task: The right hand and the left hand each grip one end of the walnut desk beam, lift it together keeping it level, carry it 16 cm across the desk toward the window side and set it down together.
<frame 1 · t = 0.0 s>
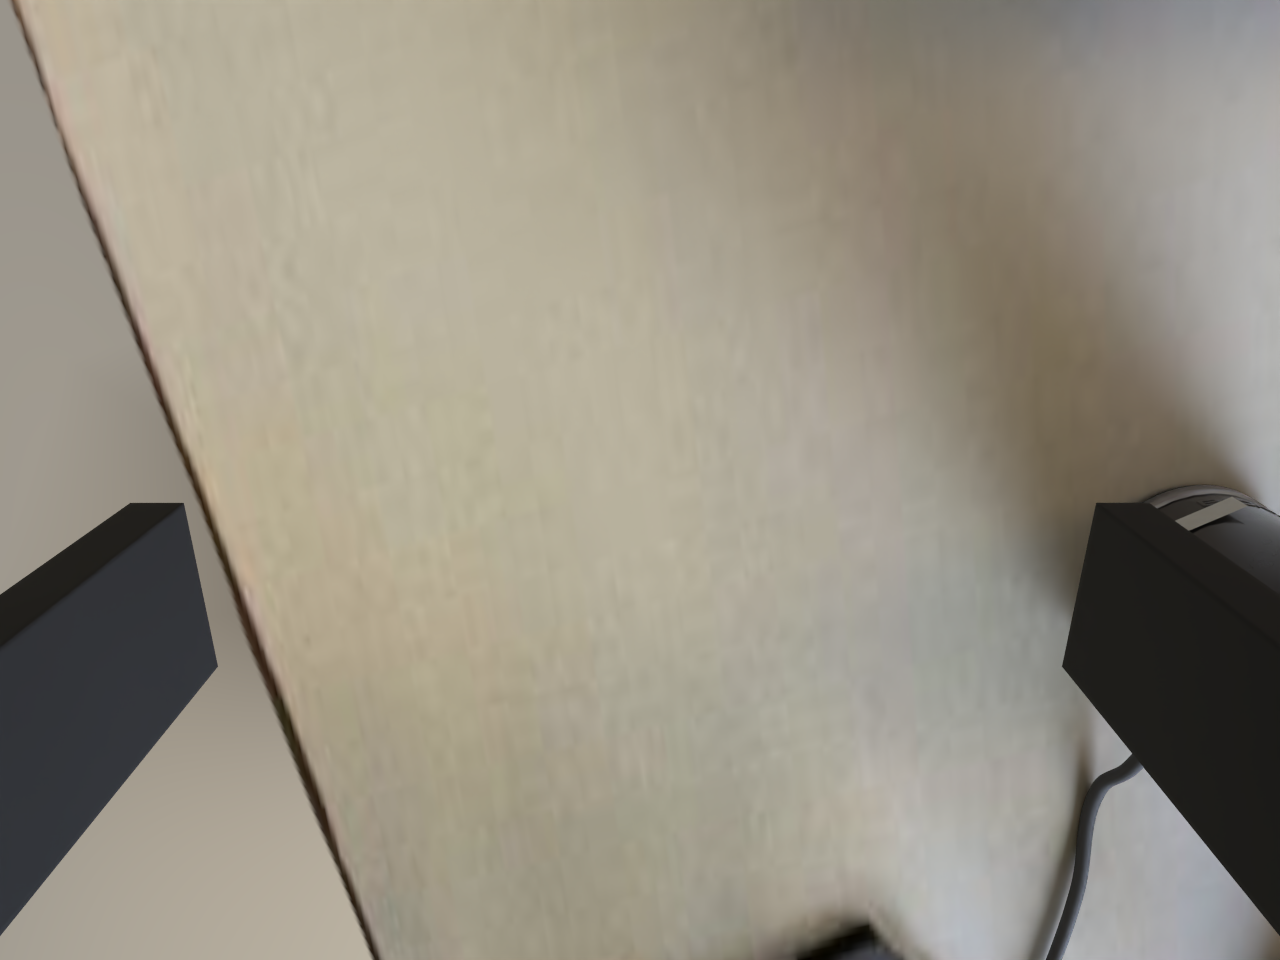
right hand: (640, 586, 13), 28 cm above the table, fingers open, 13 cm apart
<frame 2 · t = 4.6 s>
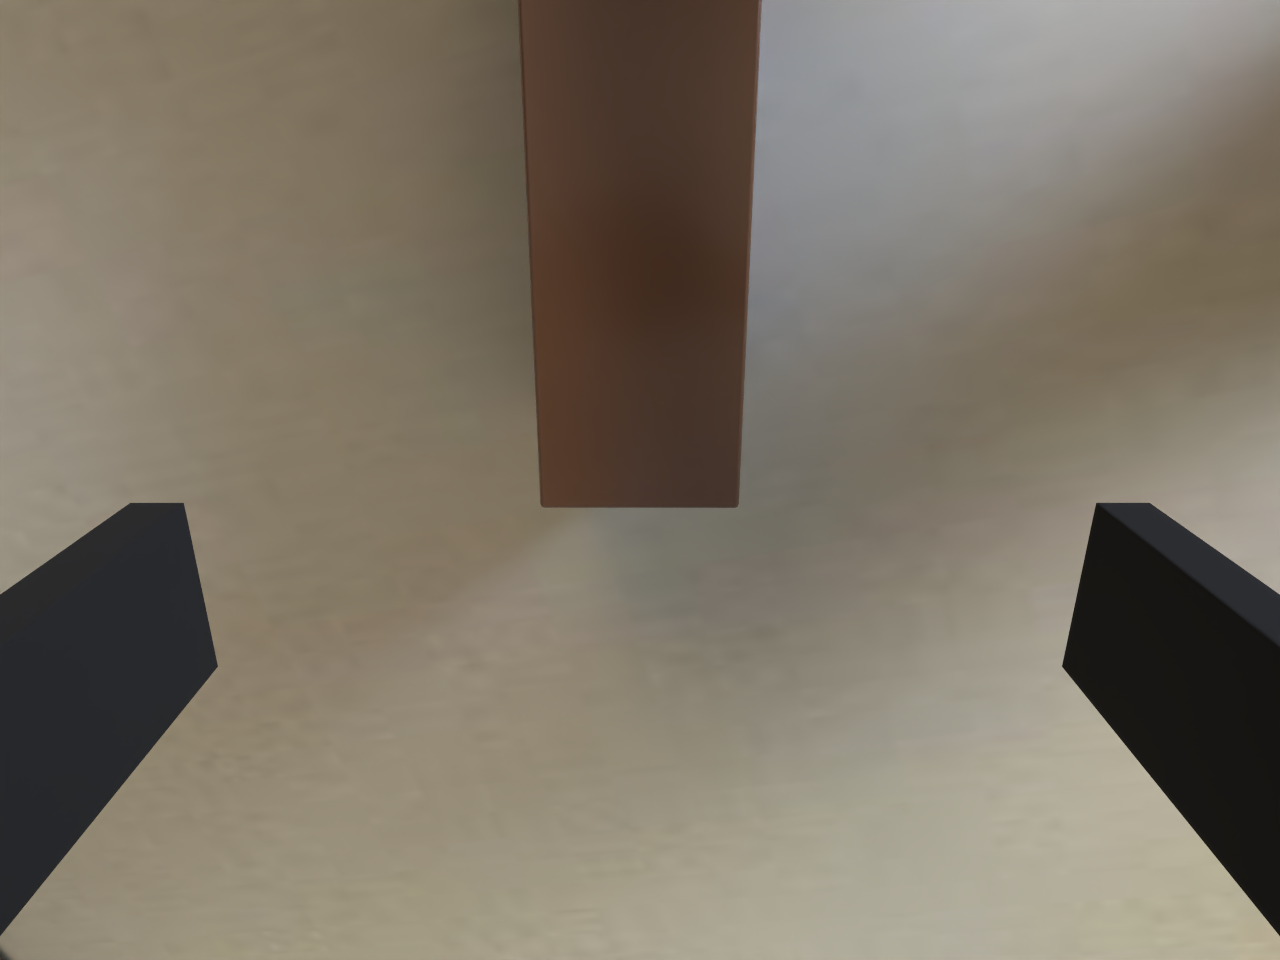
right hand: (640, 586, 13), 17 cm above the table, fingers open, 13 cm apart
walnut beam: (640, 15, 25), on the table, touching left hand
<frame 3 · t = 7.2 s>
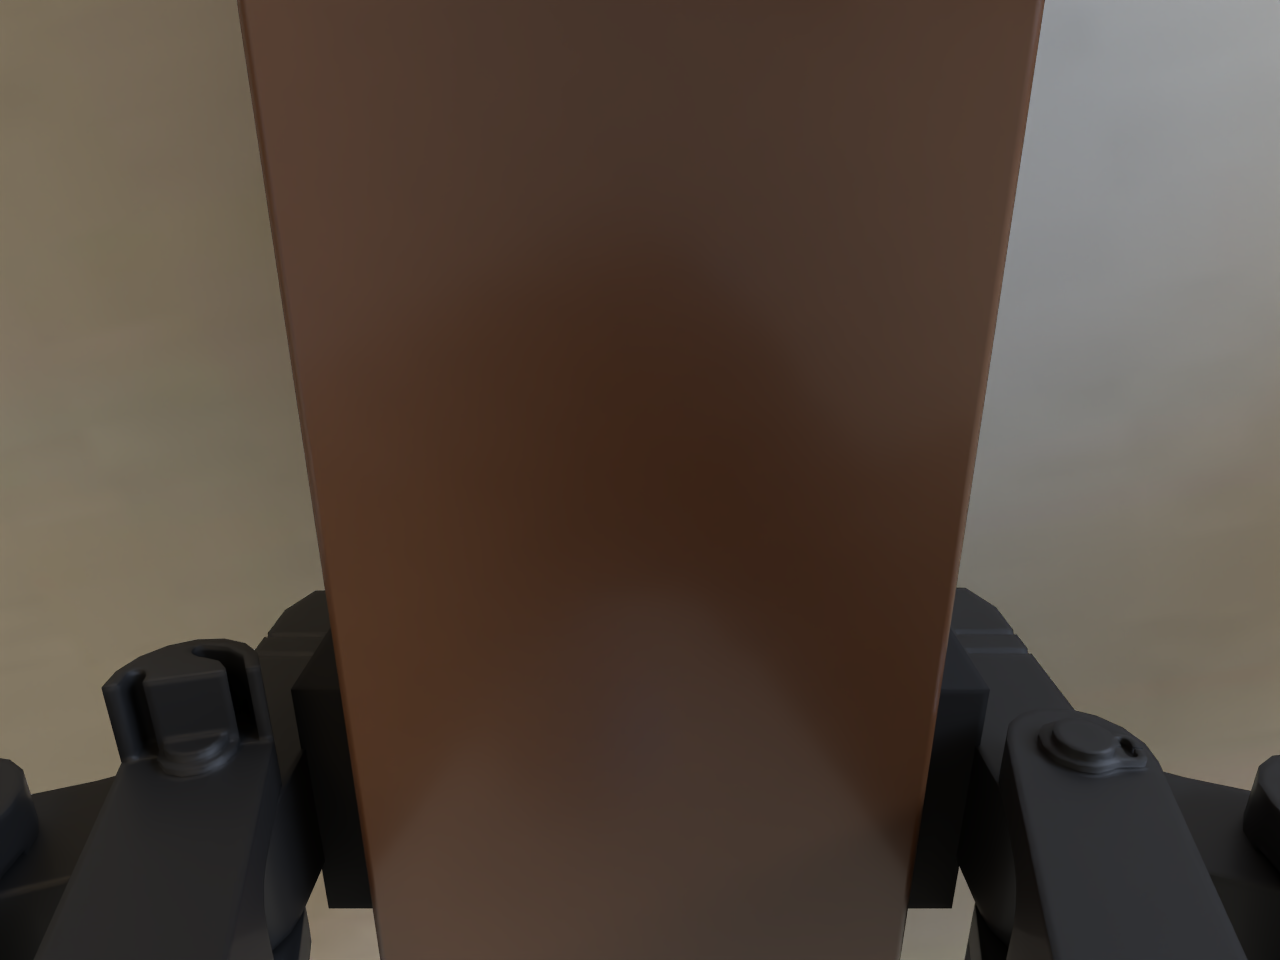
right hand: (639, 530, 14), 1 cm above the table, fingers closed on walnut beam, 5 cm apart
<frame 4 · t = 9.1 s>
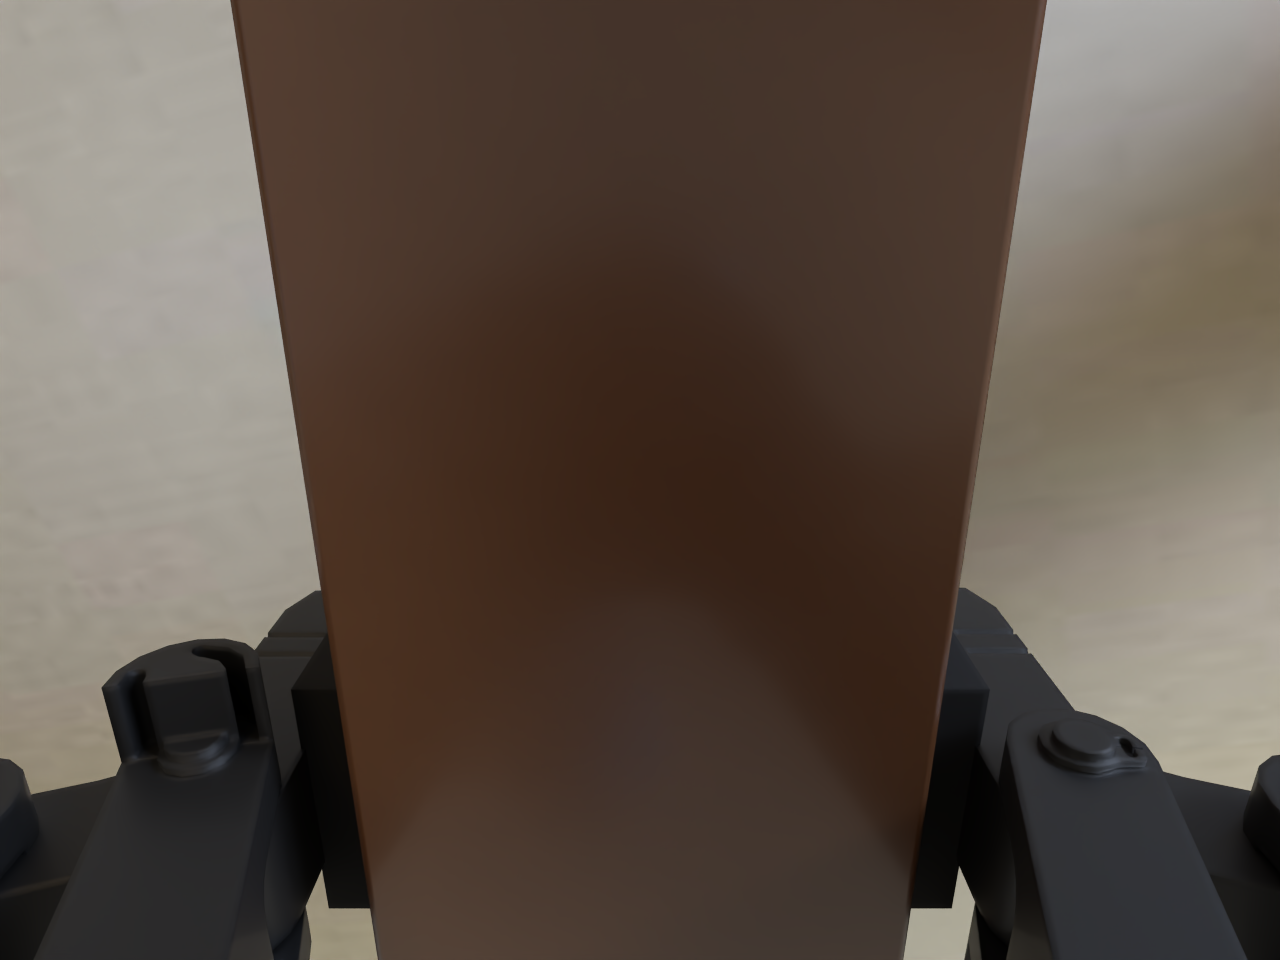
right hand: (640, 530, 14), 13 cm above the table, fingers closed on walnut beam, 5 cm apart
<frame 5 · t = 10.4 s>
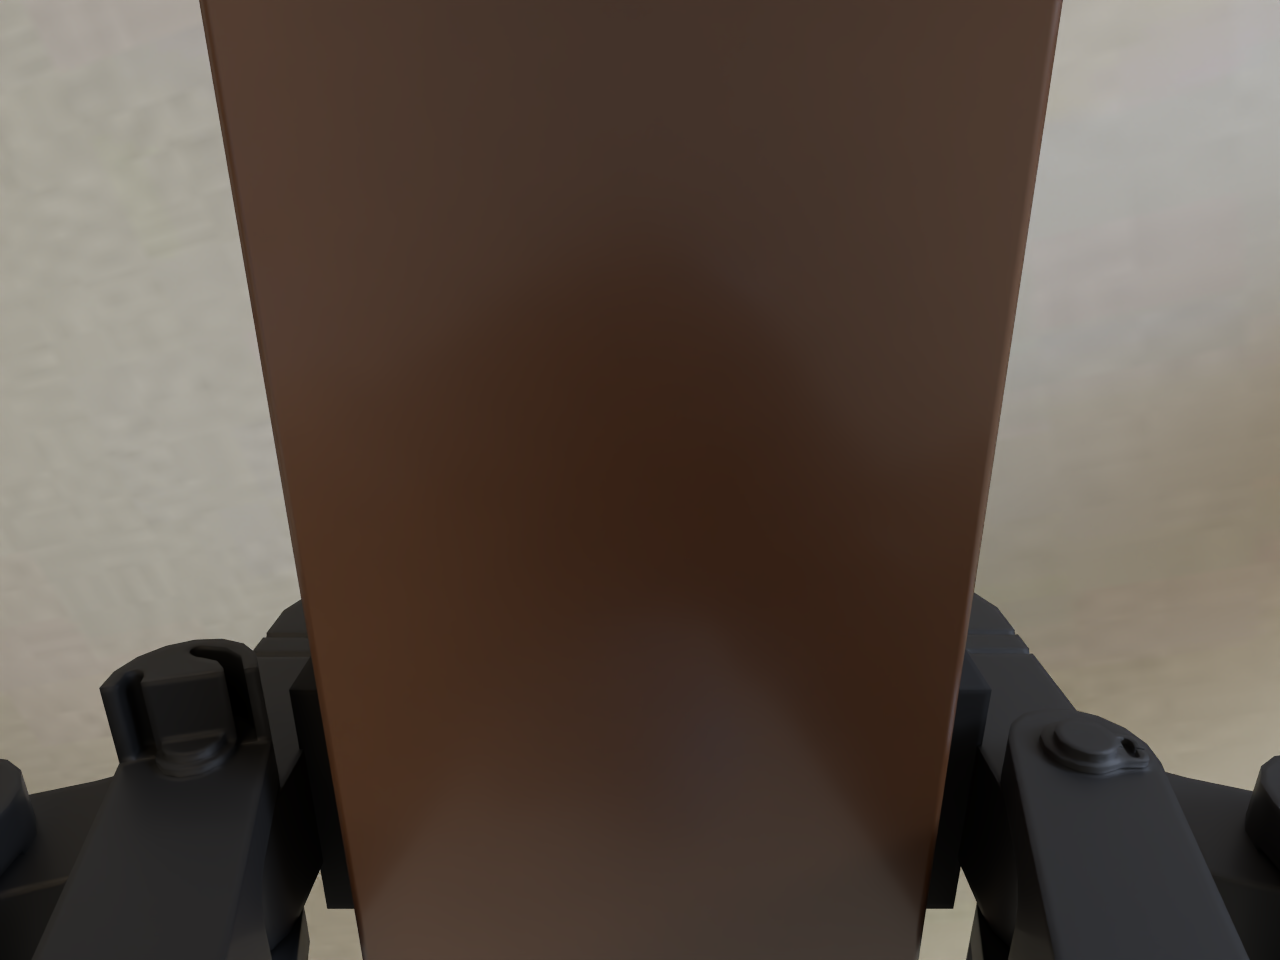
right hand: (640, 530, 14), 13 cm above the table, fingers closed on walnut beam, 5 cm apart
when the right hand's fingers open (2 cm above the table, at t = 13.7 s): walnut beam moves 1 cm, on the table.
when the left hand's fingers open (4 cm above the table, at t = 13.9 s): walnut beam stays where it is, on the table.
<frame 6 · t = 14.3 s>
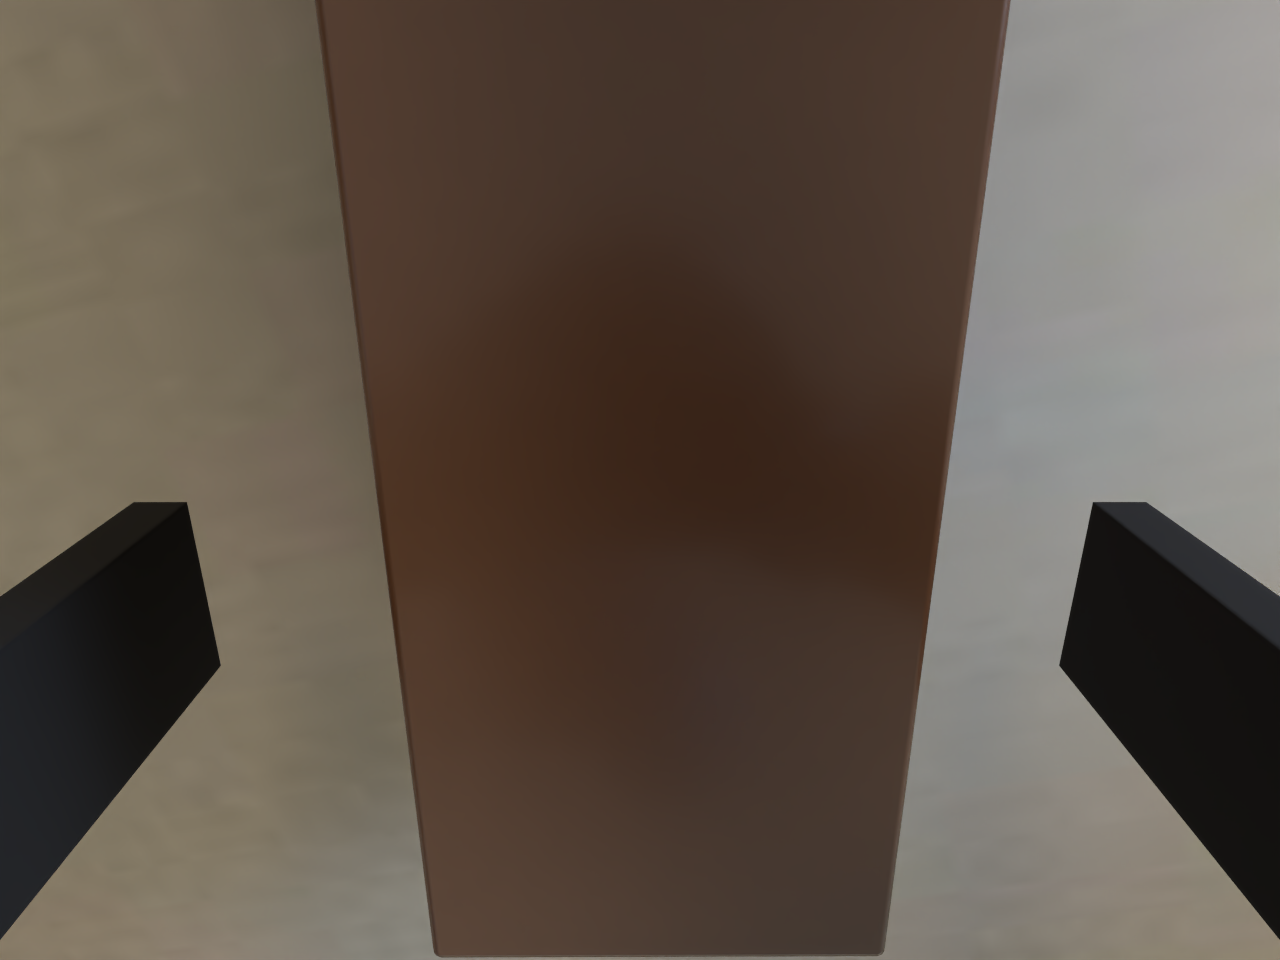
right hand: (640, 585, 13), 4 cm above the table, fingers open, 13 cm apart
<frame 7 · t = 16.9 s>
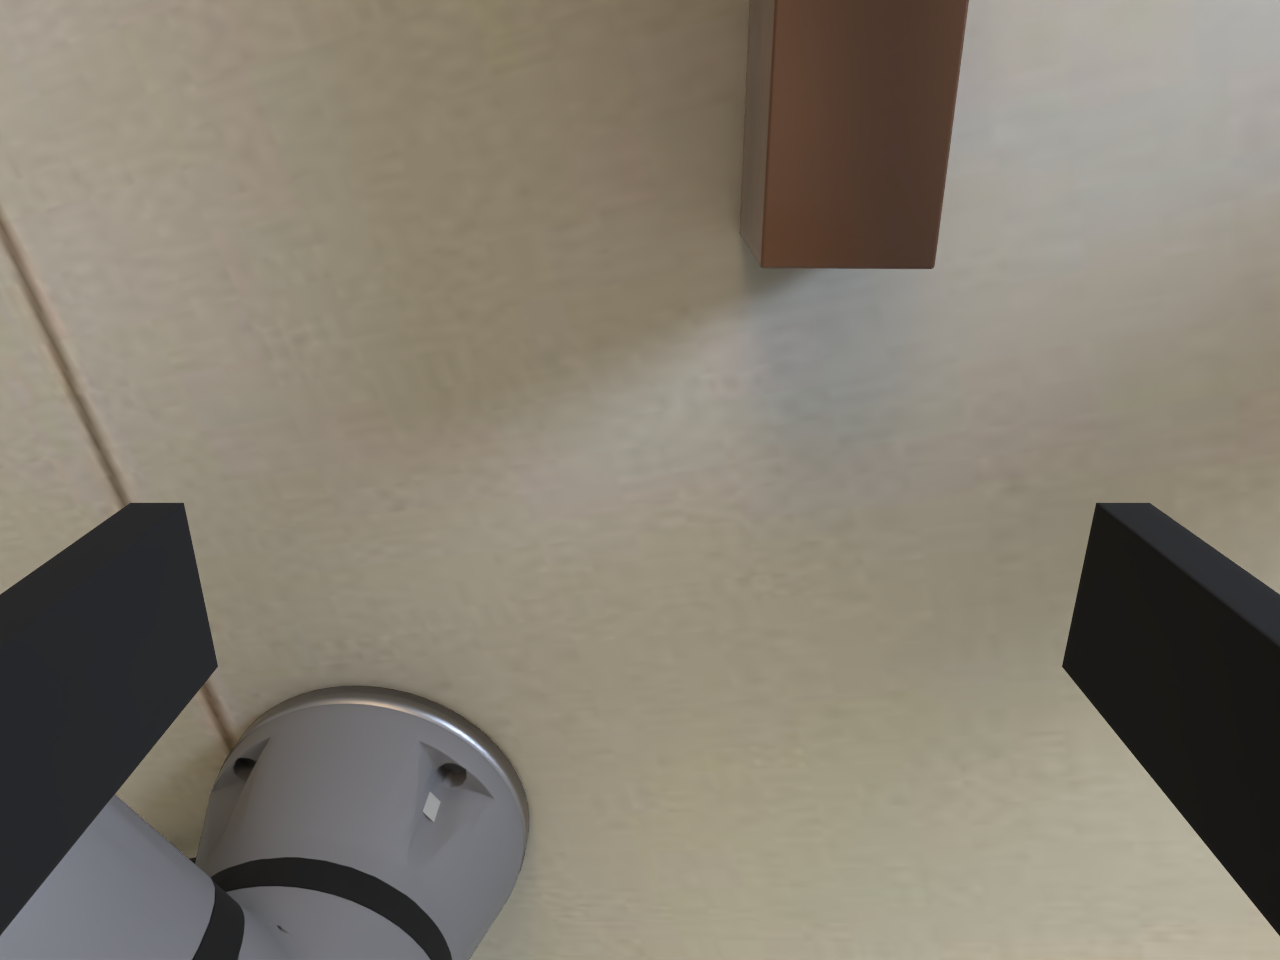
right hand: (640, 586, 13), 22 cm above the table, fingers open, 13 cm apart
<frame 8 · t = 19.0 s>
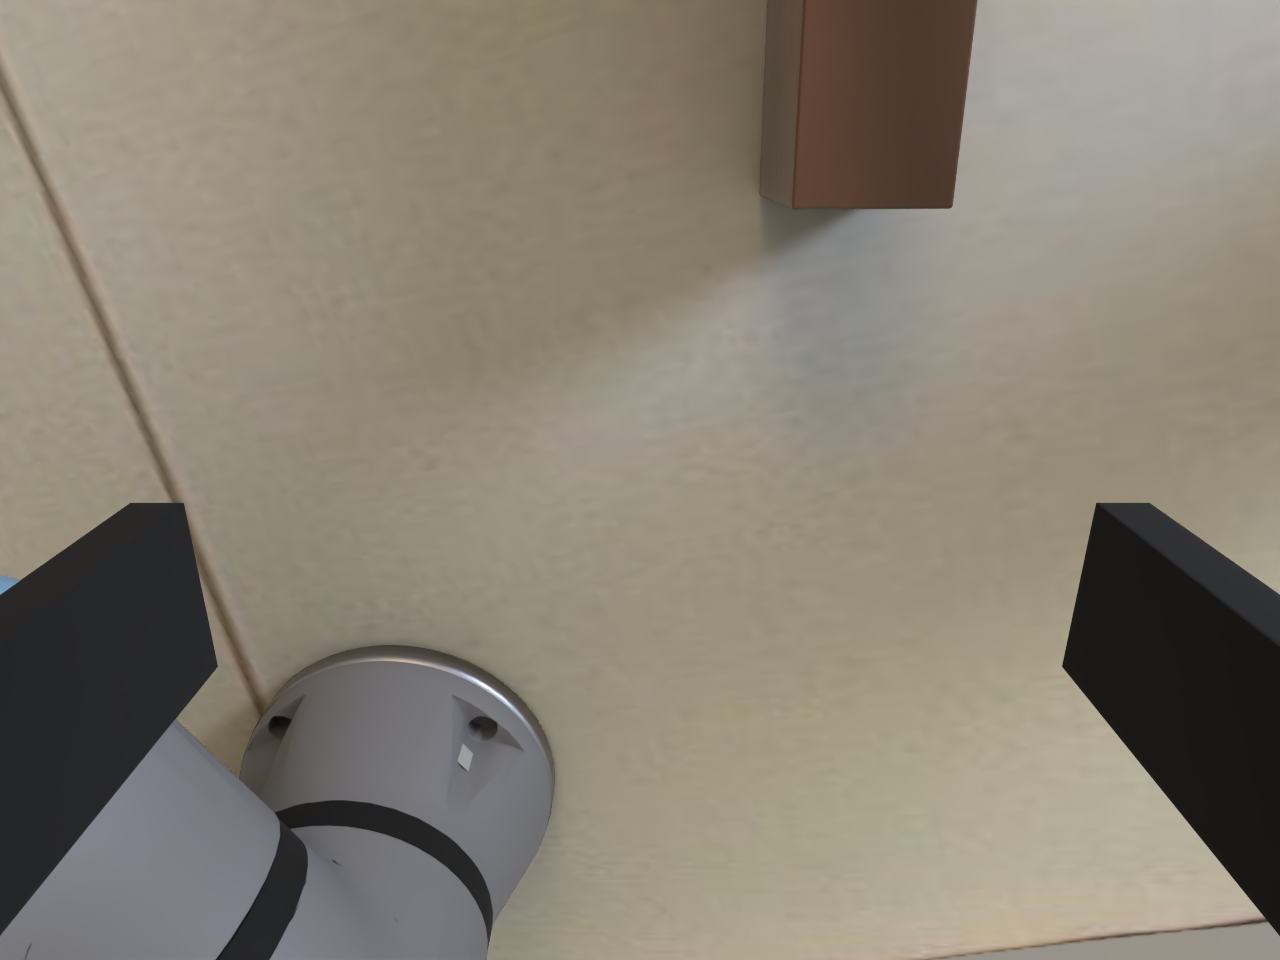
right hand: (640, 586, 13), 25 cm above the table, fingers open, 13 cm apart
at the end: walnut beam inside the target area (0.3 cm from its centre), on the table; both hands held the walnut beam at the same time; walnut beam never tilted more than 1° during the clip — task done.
